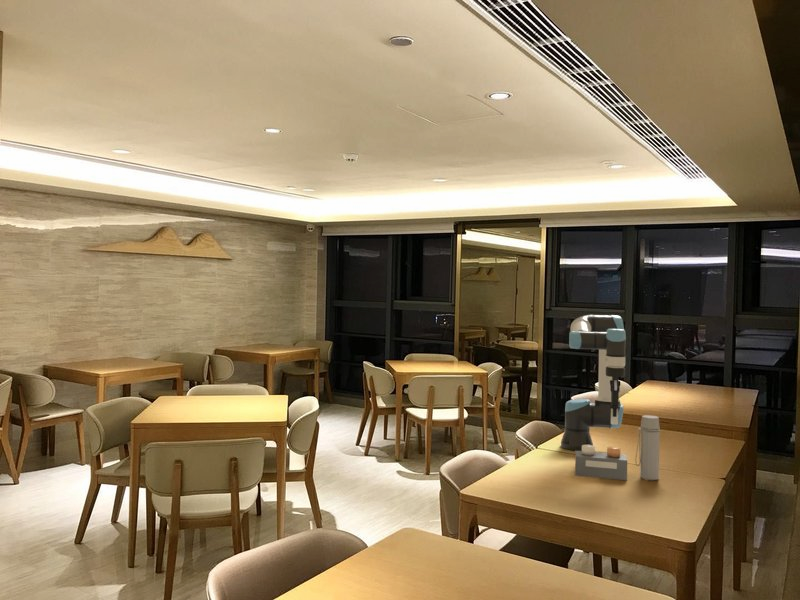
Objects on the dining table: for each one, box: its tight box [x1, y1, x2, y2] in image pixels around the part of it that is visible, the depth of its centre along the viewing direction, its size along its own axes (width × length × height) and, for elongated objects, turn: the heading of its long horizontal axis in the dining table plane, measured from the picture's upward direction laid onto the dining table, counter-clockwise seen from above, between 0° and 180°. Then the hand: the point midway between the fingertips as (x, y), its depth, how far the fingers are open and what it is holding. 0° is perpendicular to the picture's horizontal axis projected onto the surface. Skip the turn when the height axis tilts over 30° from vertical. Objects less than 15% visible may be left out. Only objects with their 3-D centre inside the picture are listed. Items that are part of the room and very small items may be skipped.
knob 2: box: [606, 446, 621, 458], centre depth 262 cm, size 5×5×11 cm
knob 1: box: [582, 444, 596, 455], centre depth 265 cm, size 5×5×11 cm
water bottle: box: [635, 414, 661, 481], centre depth 259 cm, size 9×8×25 cm
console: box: [574, 451, 628, 481], centre depth 263 cm, size 10×20×8 cm, turn 74°
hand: (614, 424), depth 262 cm, fingers closed
